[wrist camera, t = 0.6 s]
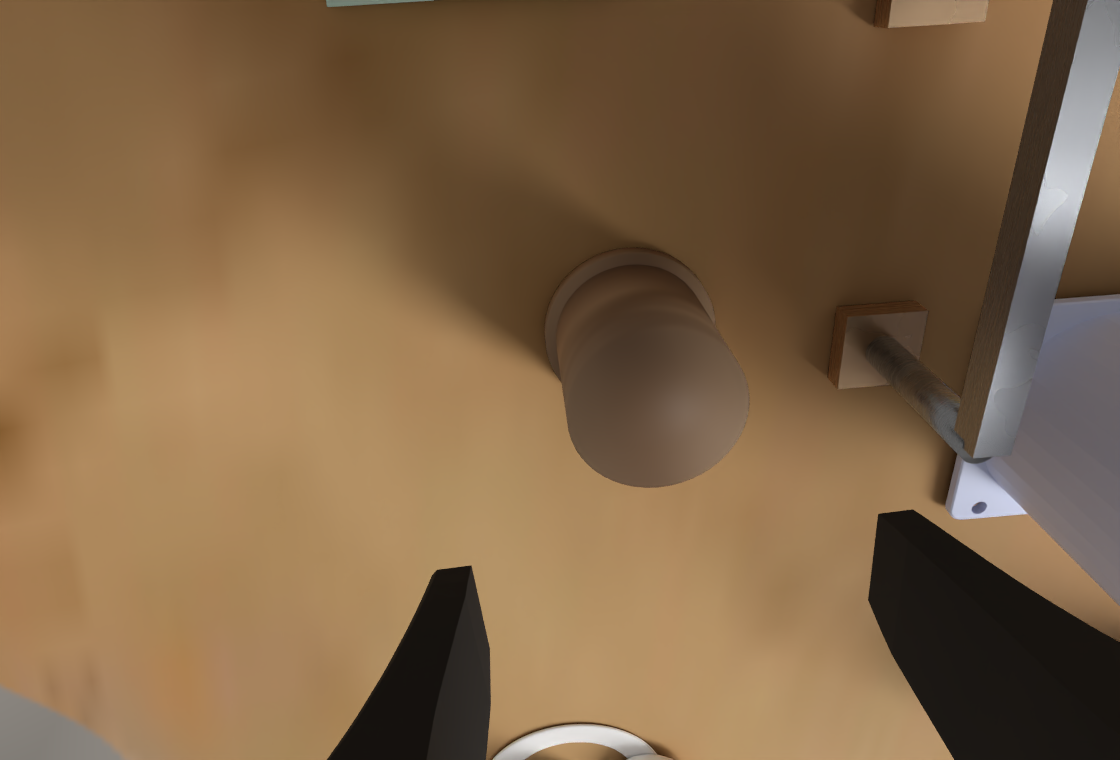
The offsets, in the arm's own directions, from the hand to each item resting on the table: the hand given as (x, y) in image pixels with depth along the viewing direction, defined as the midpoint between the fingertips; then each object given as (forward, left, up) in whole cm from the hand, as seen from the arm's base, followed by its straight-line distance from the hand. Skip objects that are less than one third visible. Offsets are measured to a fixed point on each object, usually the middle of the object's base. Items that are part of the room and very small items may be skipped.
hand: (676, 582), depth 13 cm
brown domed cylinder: (-1, 0, -10) cm, 10 cm away
